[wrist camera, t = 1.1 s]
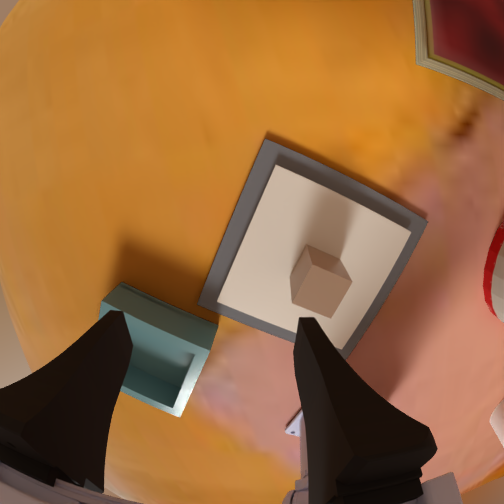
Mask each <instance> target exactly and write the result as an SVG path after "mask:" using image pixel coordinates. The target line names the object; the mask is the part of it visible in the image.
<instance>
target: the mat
mask: <svg viewBox="0 0 504 504" xmlns="http://www.w3.org/2000/svg"><path fill="white" fill-rule="evenodd" d="M275 165H278V166H281V167H283V168H285V169H287V170H290V171H292V172H294V173H296V174H298V175H301V176H303V177H305V178H307V179H309V180H312V181H314V182H316V183H318V184H320V185H322V186H324V187H326V188H328V189H331V190H333V191H335V192H337V193H339V194H341V195H343V196H345V197H347V198H349V199H351V200H353V201H355V202H357V203H359V204H361V205H363V206H365V207H366V208H368V209H370V210H372V211H374V212H376V213H378V214H380V215H382V216H384V217H385V218H387V219H389V220H391V221H393V222H395V223H396V224H398V225H400V226H402V227H404V228H405V229H407V230H409V231H410V232H411V234H410V236H409V238H408V240H407V242H406V244H405V246H404V247H403V249H402V251H401V253H400V255H399V257H398V259H397V261H396V262H395V264H394V266H393V268H392V270H391V271H390V273H389V275H388V277H387V278H386V280H385V282H384V284H383V285H382V287H381V289H380V290H379V292H378V294H377V296H376V297H375V299H374V300H373V302H372V304H371V305H370V307H369V309H368V310H367V312H366V313H365V315H364V317H363V318H362V320H361V321H360V323H359V324H358V326H357V328H356V329H355V331H354V332H353V334H352V335H351V337H350V338H349V340H348V341H347V343H346V344H345V346H344V347H343V349H339V348H336V347H335V348H336V349H337V350H338V352H339V353H340V354H341V356H342V357H343V358H344V359H345V360H346V359H347V358H348V356H349V355H350V353H351V352H352V351H353V349H354V348H355V346H356V345H357V343H358V342H359V340H360V339H361V337H362V336H363V334H364V333H365V331H366V330H367V328H368V327H369V325H370V324H371V322H372V321H373V319H374V318H375V316H376V315H377V313H378V311H379V310H380V308H381V307H382V305H383V303H384V302H385V300H386V298H387V297H388V295H389V293H390V292H391V290H392V288H393V287H394V285H395V283H396V282H397V280H398V278H399V276H400V275H401V273H402V271H403V269H404V268H405V266H406V264H407V262H408V260H409V258H410V257H411V255H412V253H413V251H414V249H415V247H416V245H417V243H418V241H419V239H420V237H421V235H422V234H423V232H424V229H425V227H426V225H427V223H428V221H427V220H425V219H423V218H422V217H420V216H418V215H417V214H415V213H413V212H412V211H410V210H408V209H407V208H405V207H403V206H401V205H400V204H398V203H396V202H394V201H393V200H391V199H389V198H387V197H385V196H384V195H382V194H380V193H378V192H376V191H374V190H373V189H371V188H369V187H367V186H365V185H363V184H361V183H359V182H357V181H356V180H354V179H352V178H350V177H348V176H346V175H344V174H342V173H340V172H338V171H336V170H334V169H332V168H330V167H327V166H325V165H323V164H321V163H319V162H317V161H315V160H313V159H311V158H308V157H306V156H304V155H302V154H300V153H297V152H295V151H293V150H291V149H288V148H286V147H284V146H282V145H279V144H277V143H275V142H272V141H270V140H267V139H265V140H264V142H263V145H262V147H261V149H260V152H259V154H258V156H257V159H256V161H255V163H254V165H253V168H252V170H251V172H250V175H249V177H248V180H247V182H246V184H245V187H244V189H243V191H242V194H241V196H240V199H239V201H238V203H237V206H236V208H235V211H234V213H233V215H232V218H231V220H230V223H229V225H228V228H227V230H226V232H225V235H224V237H223V240H222V242H221V245H220V247H219V250H218V252H217V255H216V257H215V260H214V262H213V265H212V267H211V270H210V272H209V275H208V277H207V280H206V283H205V285H204V288H203V290H202V293H201V295H200V298H199V301H198V303H197V305H200V306H202V307H204V308H207V309H209V310H211V311H214V312H216V313H219V314H221V315H223V316H226V317H228V318H231V319H233V320H236V321H238V322H241V323H243V324H246V325H248V326H251V327H253V328H256V329H258V330H261V331H264V332H266V333H269V334H271V335H274V336H277V337H279V338H282V339H285V340H287V341H290V342H293V343H295V339H296V333H294V332H292V331H289V330H286V329H284V328H281V327H279V326H276V325H273V324H271V323H268V322H266V321H263V320H261V319H258V318H256V317H253V316H251V315H248V314H246V313H243V312H241V311H238V310H236V309H233V308H231V307H228V306H226V305H224V304H221V303H219V302H217V300H218V297H219V295H220V293H221V290H222V288H223V286H224V283H225V281H226V279H227V276H228V274H229V271H230V269H231V267H232V264H233V262H234V260H235V257H236V255H237V253H238V250H239V248H240V246H241V243H242V241H243V239H244V236H245V234H246V232H247V230H248V227H249V225H250V223H251V220H252V218H253V216H254V213H255V211H256V209H257V206H258V204H259V202H260V200H261V197H262V195H263V193H264V190H265V188H266V186H267V183H268V181H269V179H270V177H271V174H272V172H273V170H274V168H275Z"/></svg>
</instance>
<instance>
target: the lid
mask: <svg viewBox="0 0 504 504" xmlns="http://www.w3.org/2000/svg"><path fill="white" fill-rule="evenodd" d="M410 234H411V232H410V231H409V230H407V229H405V228H404V227H402V226H400V225H398V224H396V223H395V222H393V221H391V220H389V219H387V218H385V217H384V216H382V215H380V214H378V213H376V212H374V211H372V210H370V209H368V208H366V207H365V206H363V205H361V204H359V203H357V202H355V201H353V200H351V199H349V198H347V197H345V196H343V195H341V194H339V193H337V192H335V191H333V190H331V189H328V188H326V187H324V186H322V185H320V184H318V183H316V182H314V181H312V180H309V179H307V178H305V177H303V176H301V175H298V174H296V173H294V172H292V171H290V170H287V169H285V168H283V167H281V166H278V165H275V168H274V170H273V172H272V174H271V177H270V179H269V181H268V183H267V186H266V188H265V190H264V193H263V195H262V197H261V200H260V202H259V204H258V206H257V209H256V211H255V213H254V216H253V218H252V220H251V223H250V225H249V227H248V230H247V232H246V234H245V236H244V239H243V241H242V243H241V246H240V248H239V250H238V253H237V255H236V257H235V260H234V262H233V264H232V267H231V269H230V271H229V274H228V276H227V279H226V281H225V283H224V286H223V288H222V290H221V293H220V295H219V297H218V300H217V302H219V303H221V304H224V305H226V306H228V307H231V308H233V309H236V310H238V311H241V312H243V313H246V314H248V315H251V316H253V317H256V318H258V319H261V320H263V321H266V322H268V323H271V324H273V325H276V326H279V327H281V328H284V329H286V330H289V331H292V332H294V333H297V327H298V320H299V317H314V318H315V319H316V320H317V321H318V323H319V325H320V326H321V328H322V329H323V331H324V332H325V334H326V335H327V337H328V338H329V340H330V341H331V342H332V344H333V345H334V346H335V347H336V348H339V349H343V347H344V346H345V344H346V343H347V341H348V340H349V338H350V337H351V335H352V334H353V332H354V331H355V329H356V328H357V326H358V324H359V323H360V321H361V320H362V318H363V317H364V315H365V313H366V312H367V310H368V309H369V307H370V305H371V304H372V302H373V300H374V299H375V297H376V296H377V294H378V292H379V290H380V289H381V287H382V285H383V284H384V282H385V280H386V278H387V277H388V275H389V273H390V271H391V270H392V268H393V266H394V264H395V262H396V261H397V259H398V257H399V255H400V253H401V251H402V249H403V247H404V246H405V244H406V242H407V240H408V238H409V236H410Z"/></svg>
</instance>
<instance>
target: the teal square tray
mask: <svg viewBox="0 0 504 504" xmlns="http://www.w3.org/2000/svg"><path fill="white" fill-rule="evenodd" d="M110 310H117V311H123V312H124V316H125V319H126V323H127V326H128V330H129V333H130V336H131V339H132V343H133V350H132V355H131V359H130V363H129V367H128V370H127V373H126V376H125V378H124V381H123V384H122V387H121V390H120V391H122V392H124V393H126V394H128V395H130V396H132V397H134V398H136V399H138V400H140V401H143V402H145V403H147V404H149V405H151V406H154V407H156V408H158V409H161V410H163V411H165V412H168V413H170V414H173V415H175V416H178V417H180V416H181V414H182V412H183V410H184V407H185V405H186V403H187V401H188V399H189V396H190V394H191V392H192V390H193V388H194V385H195V383H196V381H197V379H198V377H199V374H200V372H201V370H202V368H203V366H204V363H205V361H206V359H207V357H208V354H209V352H210V350H211V347H212V344H213V341H214V338H215V335H216V332H217V328H218V325H216V324H214V323H212V322H209V321H207V320H204V319H202V318H200V317H197V316H195V315H193V314H190V313H188V312H186V311H183V310H181V309H179V308H177V307H174V306H172V305H170V304H168V303H166V302H163V301H161V300H159V299H157V298H155V297H152V296H150V295H148V294H146V293H144V292H142V291H140V290H138V289H136V288H133V287H131V286H129V285H127V284H125V283H123V282H121V283H120V284H119V285H118V286H117V287H116V288H115V289H113V290H112V291H111V292H110V293H109V294H108V295H107V296H106V297H105V298H104V299H103V300H102V301H101V307H100V314H99V320H100V319H101V318H102V317H103V316H104V315H105V314H106V313H107V312H109V311H110ZM99 320H98V321H99Z"/></svg>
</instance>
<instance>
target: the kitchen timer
mask: <svg viewBox="0 0 504 504" xmlns="http://www.w3.org/2000/svg"><path fill="white" fill-rule="evenodd" d="M483 289H484V295H485V301H486V303H487V305H488V307H489V309H490V311H491V312H492V313H493V314H494V315H495V316H496V317H497V318H498V319H500V320H501V321H502V322H503V323H504V220H503V222H502V224H501V225H500V227H499V228H498V230H497V231H496V234H495V236H494V239H493V241H492V244H491V246H490V248H489V252H488V256H487V260H486V264H485V268H484V281H483Z"/></svg>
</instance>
